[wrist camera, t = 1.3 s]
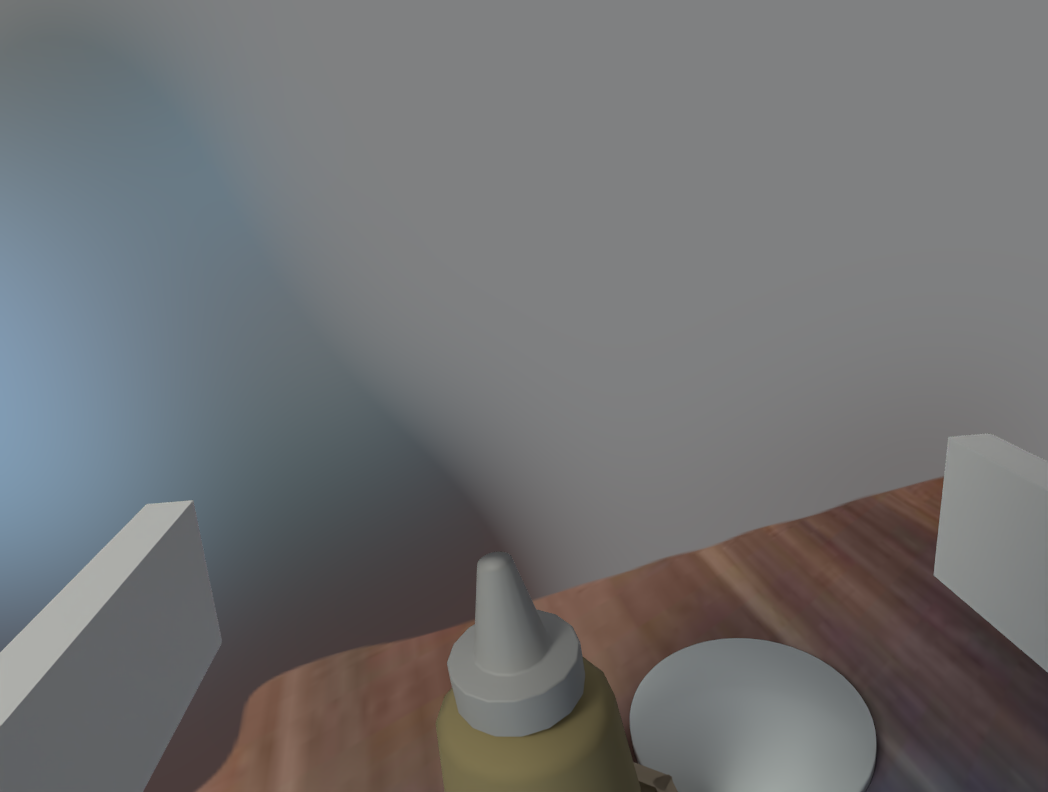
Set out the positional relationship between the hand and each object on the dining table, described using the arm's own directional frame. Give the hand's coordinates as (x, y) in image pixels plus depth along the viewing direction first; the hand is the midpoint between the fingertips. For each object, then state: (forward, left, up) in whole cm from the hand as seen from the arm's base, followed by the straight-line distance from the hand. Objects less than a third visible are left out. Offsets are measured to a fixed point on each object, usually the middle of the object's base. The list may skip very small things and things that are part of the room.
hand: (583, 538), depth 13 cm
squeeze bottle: (+1, -10, -25) cm, 27 cm away
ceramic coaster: (-11, -16, -24) cm, 31 cm away
